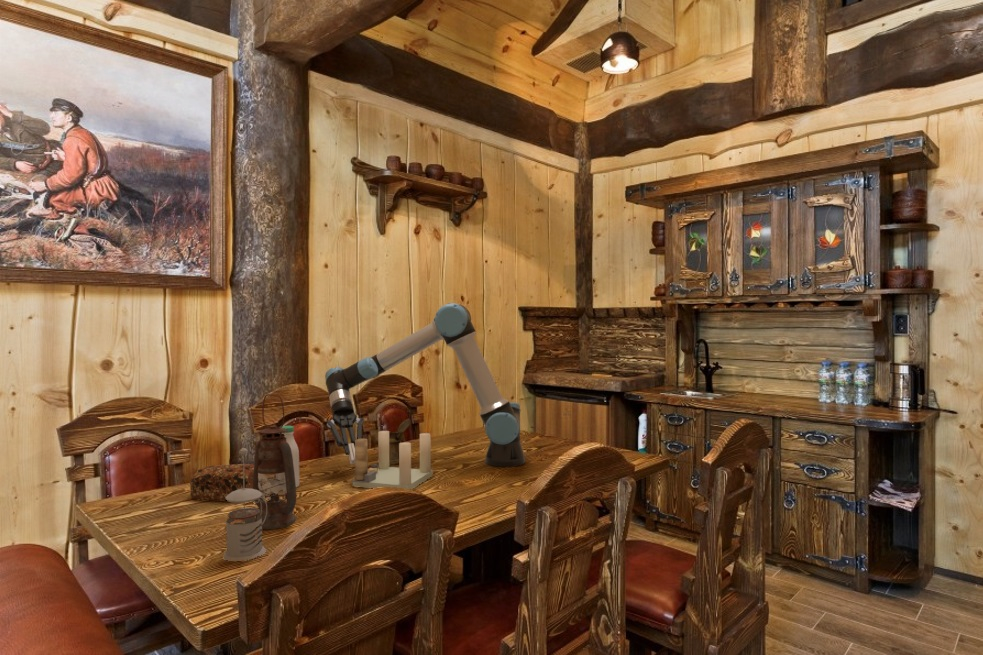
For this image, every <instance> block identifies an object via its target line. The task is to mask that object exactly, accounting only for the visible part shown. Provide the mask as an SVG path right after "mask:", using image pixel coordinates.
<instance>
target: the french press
mask: <svg viewBox="0 0 983 655" xmlns="http://www.w3.org/2000/svg"><path fill="white" fill-rule="evenodd" d="M248 451H249V450H248V449H247V448H244V447H242V448H240V449H239V450H238V454H240V455H242V464H243V488H242V489H239V490H235V491H233V492H231V493H230V494H229V495H227V496H226V497H225V498H226V500H227V502H228V503H232V504H233V503H234V504H235V503H236V504H240V503H243V508H238V509H237V508H236V509H234V510H232V511H230V512H229V513H227V520H226V521H225V529H226V530H225V531H226V540H225V541H226V545H225V546H226V551H224V553H223V554H224V555H223V554H222V556H223V557H224V559H225V560H224V561H226V560H228V561H227V562H229V561H242V560H247V559H248V561H250V560H249V559H252V558H255V557H257V556H261V555H262V556H264V555H266V553H267V551H266V550H267V548H266V547H265V548H266V549H265V548H264V545H263V530H262V524H263V523H264V521H265V520H266V516H267V503H266V501H267V500H266V498H265V499H264V497H263V498H262V497H261V496H262V493H261V492H260V491H258V490H255V489H249V488H244V464H245V454H248V453H249V452H248ZM259 498H262V499H263V500H264V501H265V503H266V515H265V519H264V521H263V523H262V516H261V514H262V504H261V501H260V499H259ZM257 499H258V502H255V501H254V500H257ZM259 501H260V504H261V513H260V510H259V509H257V508H258V507H257V508H256V507H246V506H245V505H246V504H245V503H249V502H252V503H254V504H255V503H259ZM259 513H260V515H258V514H259ZM256 516H257V521H256V522H255V517H256ZM234 521H243V522H234ZM256 527H257V528H256ZM265 552H266V553H265ZM263 554H264V555H263ZM262 556H261V557H262ZM242 562H243V561H242Z"/></svg>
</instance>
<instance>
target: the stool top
mask: <svg viewBox="0 0 983 655" xmlns="http://www.w3.org/2000/svg"><path fill="white" fill-rule="evenodd" d="M389 432H390V431H389V430H380V431H378V432H377V436H378V437H377V438H378V444H377V445H378V472H373V471H371V472H369V473H367V474H365V475H364V480H356V479H355V478H353V479H350V482H352V487H353V486H360V487H365V488H364V489H369V490H370V489H371V488H377V487H397V488H405V489H411V491H413V490H414V489H415V488H417V487H418V486H420V485H421V484H423V483H424V482H427V481H428V480H429V479H430V477H431V478H432V477H433V476H434V470H432V466H431V465H432V464H431V463H432V458H431V456H432V453H431V450H432V449H431V445H432V444H431V442H432V441H431V433H430V432H425V433H424V432H422V433H419V468H418V469H417V468H412V443H411V442H408V441H405V442H403V443H401V442H400V443H399V464H398V467H396V466H390V465H389ZM427 479H428V480H427ZM422 482H423V483H422ZM419 484H420V485H419ZM369 487H371V488H369ZM413 488H414V489H413Z"/></svg>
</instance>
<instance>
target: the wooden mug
mask: <svg viewBox="0 0 983 655" xmlns="http://www.w3.org/2000/svg"><path fill="white" fill-rule="evenodd" d="M410 425H411V419H410V418H409V417H408V418H406V419H404V420H403V421H401V423H400V424H399V425H398V427H397V430H396V431H395V432H394V431H389V466H395V465H394V464H396V465H399V443H403V442H406V436H405V434H404V433H405V432H406V430H407V429H408V428H409V427H410Z"/></svg>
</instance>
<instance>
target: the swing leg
mask: <svg viewBox="0 0 983 655" xmlns="http://www.w3.org/2000/svg"><path fill="white" fill-rule="evenodd" d="M368 458H369V457H368V439H367V438H361V439H357V438H356V440H355V464H354V466H355V467H354V472H355V473H354V477H355V478H354V479H356V480H364V475H365V474H367V473H369V472H371V471H373V472H378V468H379V463H372V464H371V465H370V466H371V467H370V468H368V467H369V465H368V460H369V459H368Z"/></svg>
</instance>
